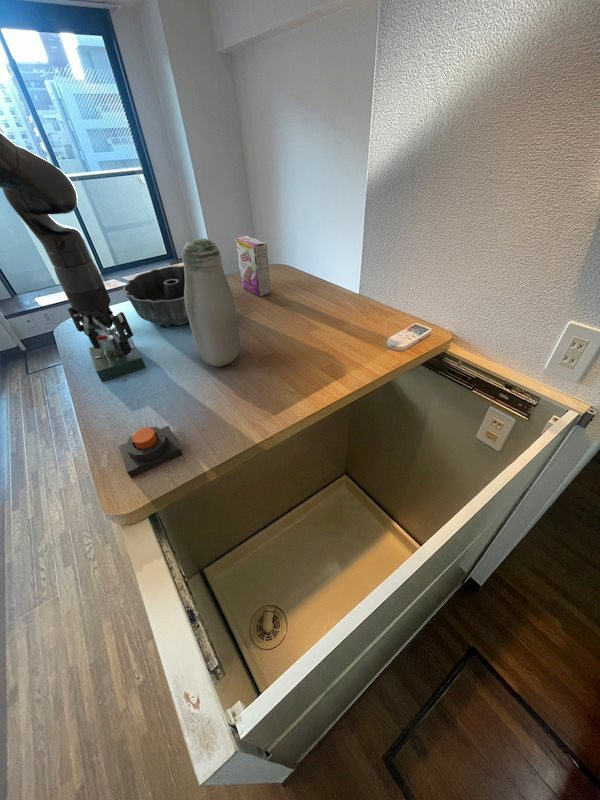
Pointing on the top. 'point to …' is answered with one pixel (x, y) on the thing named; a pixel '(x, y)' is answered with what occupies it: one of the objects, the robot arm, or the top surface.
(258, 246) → the candy bar box
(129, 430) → the top surface
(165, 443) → the button block
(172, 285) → the bundt pan
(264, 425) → the top surface
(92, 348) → the panel
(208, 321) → the off-white tall tapered cylinder
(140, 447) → the button
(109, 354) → the dial
